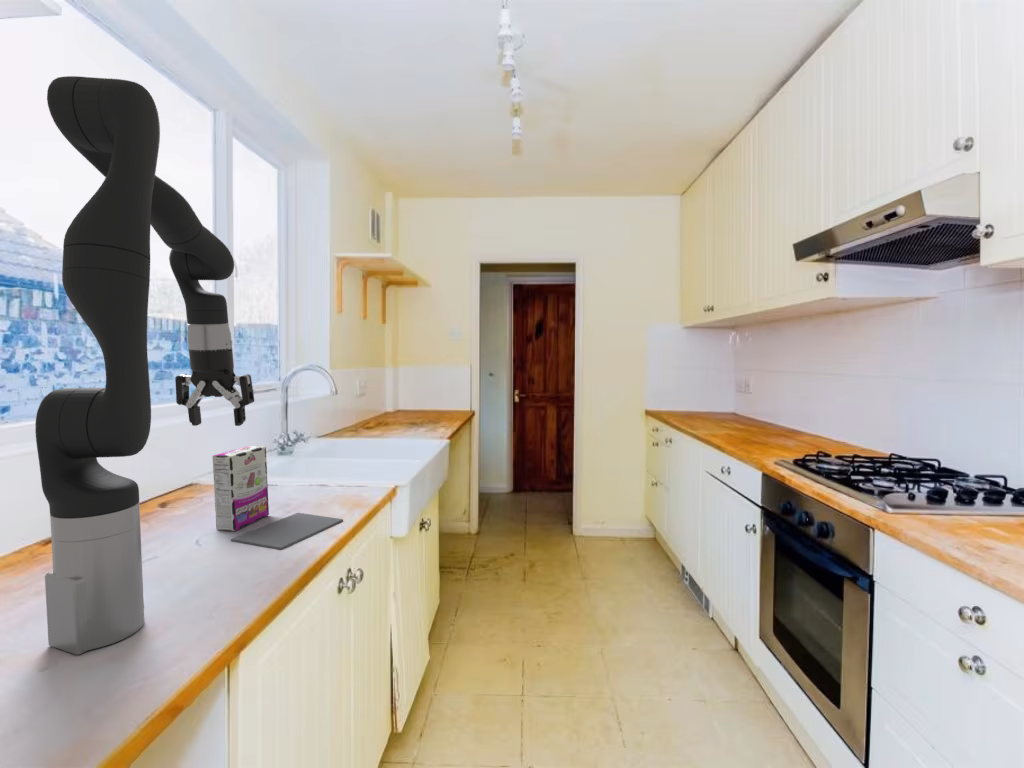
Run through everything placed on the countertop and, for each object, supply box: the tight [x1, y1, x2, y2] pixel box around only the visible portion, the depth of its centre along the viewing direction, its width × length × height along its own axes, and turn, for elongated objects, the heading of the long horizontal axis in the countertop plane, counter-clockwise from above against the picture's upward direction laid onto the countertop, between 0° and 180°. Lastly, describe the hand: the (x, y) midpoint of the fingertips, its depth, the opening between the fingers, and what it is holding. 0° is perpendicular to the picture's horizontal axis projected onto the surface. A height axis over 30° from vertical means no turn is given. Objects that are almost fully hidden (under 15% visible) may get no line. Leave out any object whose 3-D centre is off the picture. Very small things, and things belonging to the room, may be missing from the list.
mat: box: [230, 512, 344, 551], centre depth 108 cm, size 18×13×1 cm
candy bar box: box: [212, 445, 270, 532], centre depth 112 cm, size 11×5×16 cm, turn 168°
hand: (218, 424), depth 104 cm, fingers open, 8 cm apart
